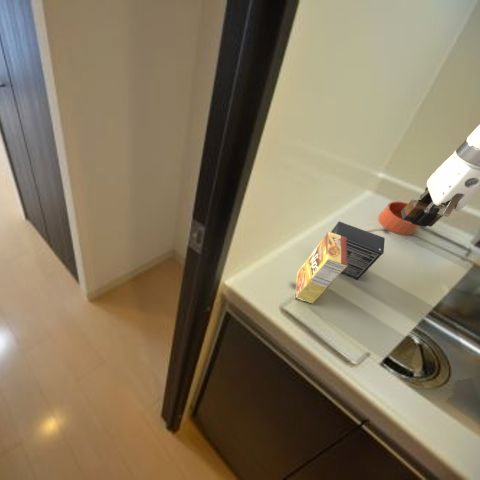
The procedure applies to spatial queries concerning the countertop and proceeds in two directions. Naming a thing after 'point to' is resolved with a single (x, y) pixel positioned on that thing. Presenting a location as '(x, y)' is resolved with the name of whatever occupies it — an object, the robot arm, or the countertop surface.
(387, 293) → the countertop surface
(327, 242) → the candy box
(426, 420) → the countertop surface
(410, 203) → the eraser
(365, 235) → the small box
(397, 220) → the bowl
